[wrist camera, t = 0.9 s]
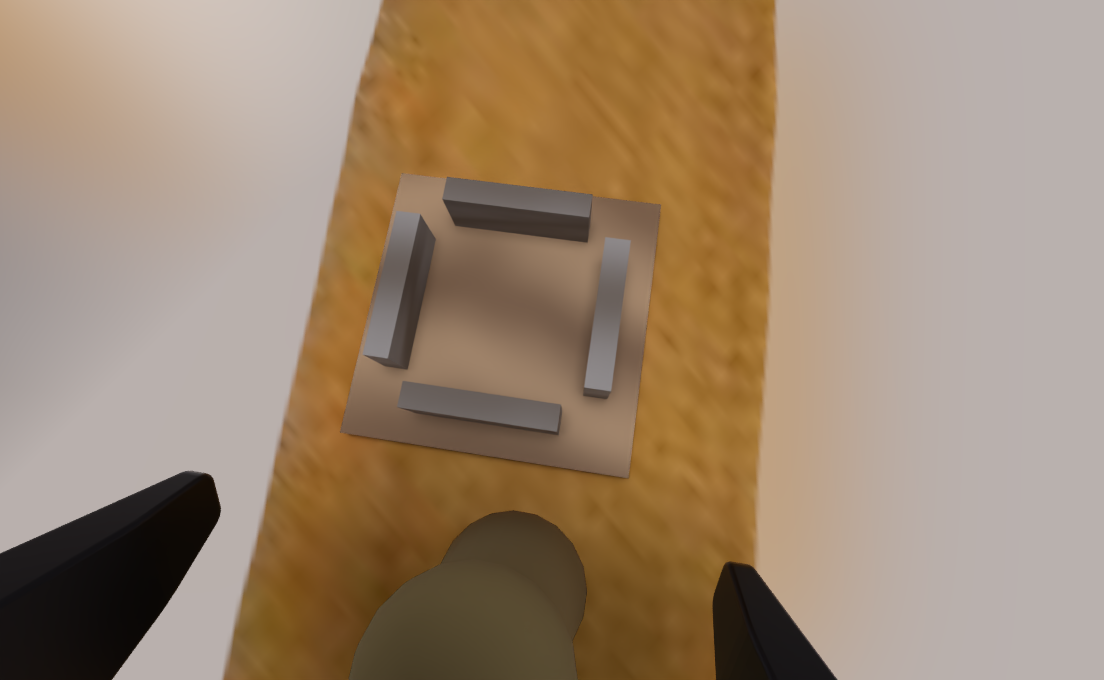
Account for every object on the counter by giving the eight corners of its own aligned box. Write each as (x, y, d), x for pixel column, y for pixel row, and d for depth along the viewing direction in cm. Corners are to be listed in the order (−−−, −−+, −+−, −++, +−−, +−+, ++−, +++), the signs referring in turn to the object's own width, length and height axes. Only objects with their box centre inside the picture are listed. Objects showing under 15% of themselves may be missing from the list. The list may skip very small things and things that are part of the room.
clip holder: (626, 477, 22) (635, 480, 19) (347, 433, 23) (311, 428, 20) (658, 212, 25) (670, 175, 22) (406, 182, 26) (382, 141, 22)
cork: (430, 671, 21) (280, 890, 10) (441, 508, 22) (317, 550, 11) (586, 677, 21) (600, 908, 10) (587, 512, 22) (600, 558, 11)
